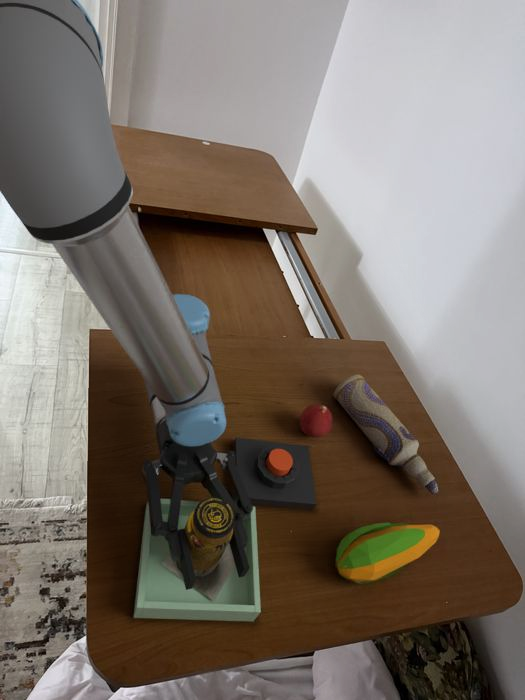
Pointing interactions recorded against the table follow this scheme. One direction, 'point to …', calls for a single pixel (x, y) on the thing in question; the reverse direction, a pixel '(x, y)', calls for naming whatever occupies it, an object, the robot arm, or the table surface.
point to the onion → (316, 420)
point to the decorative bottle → (383, 429)
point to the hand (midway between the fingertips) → (218, 578)
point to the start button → (279, 462)
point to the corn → (382, 550)
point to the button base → (269, 487)
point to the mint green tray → (178, 603)
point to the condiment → (208, 546)
